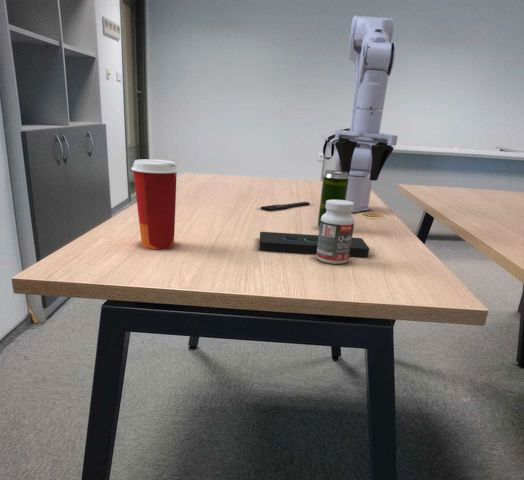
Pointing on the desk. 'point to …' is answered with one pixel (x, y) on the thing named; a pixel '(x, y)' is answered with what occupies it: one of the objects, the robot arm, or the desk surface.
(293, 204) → the fork
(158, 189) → the paper cup
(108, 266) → the desk surface
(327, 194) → the beer can
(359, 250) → the smart home device
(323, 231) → the pill bottle
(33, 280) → the desk surface
